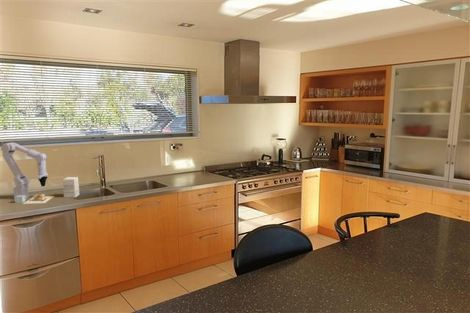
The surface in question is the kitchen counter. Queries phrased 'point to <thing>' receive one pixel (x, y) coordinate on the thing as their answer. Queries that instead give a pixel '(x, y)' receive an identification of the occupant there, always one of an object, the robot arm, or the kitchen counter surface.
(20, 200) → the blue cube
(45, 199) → the letter board
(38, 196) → the oak block
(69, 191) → the supplement box
